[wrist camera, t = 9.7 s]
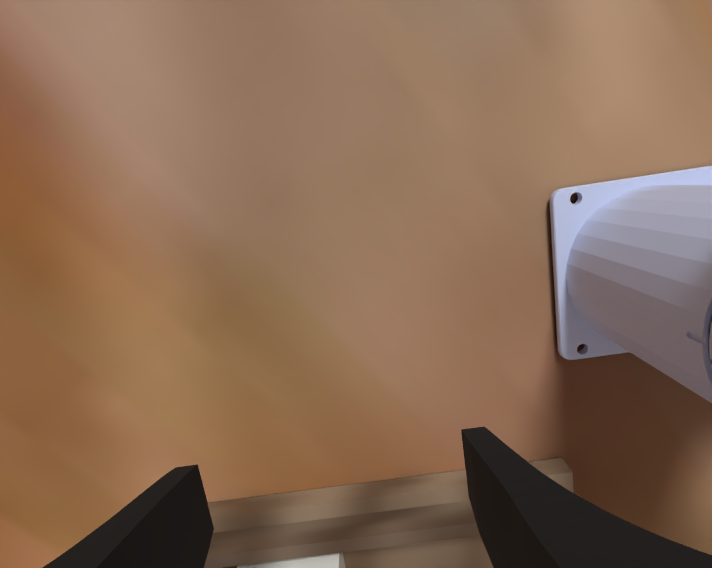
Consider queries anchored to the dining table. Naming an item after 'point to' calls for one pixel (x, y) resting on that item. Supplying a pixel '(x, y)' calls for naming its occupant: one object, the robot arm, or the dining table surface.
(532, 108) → the dining table surface
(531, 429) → the dining table surface
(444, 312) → the dining table surface
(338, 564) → the white block with bar
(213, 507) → the gauge board
